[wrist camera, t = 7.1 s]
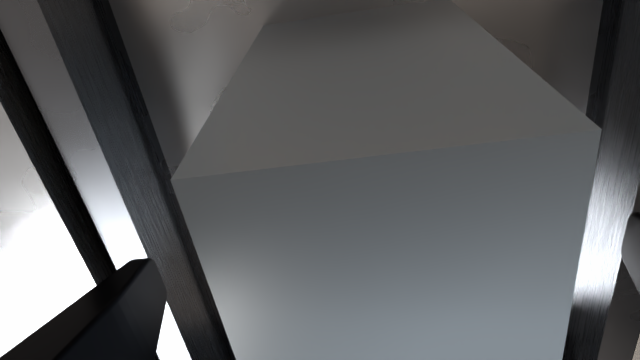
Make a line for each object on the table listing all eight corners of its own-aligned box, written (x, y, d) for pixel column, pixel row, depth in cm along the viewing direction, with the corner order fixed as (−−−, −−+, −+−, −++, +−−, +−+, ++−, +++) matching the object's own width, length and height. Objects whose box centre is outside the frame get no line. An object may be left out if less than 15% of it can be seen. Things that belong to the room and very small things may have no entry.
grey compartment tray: (680, -237, 8) (876, -315, 5) (572, 338, 14) (627, 440, 12) (-434, -29, 10) (-735, -3, 7) (-67, 383, 17) (-147, 478, 14)
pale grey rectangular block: (447, -3, 9) (602, 129, 4) (451, 300, 13) (527, 565, 8) (263, 25, 9) (170, 180, 4) (322, 311, 13) (313, 571, 8)
